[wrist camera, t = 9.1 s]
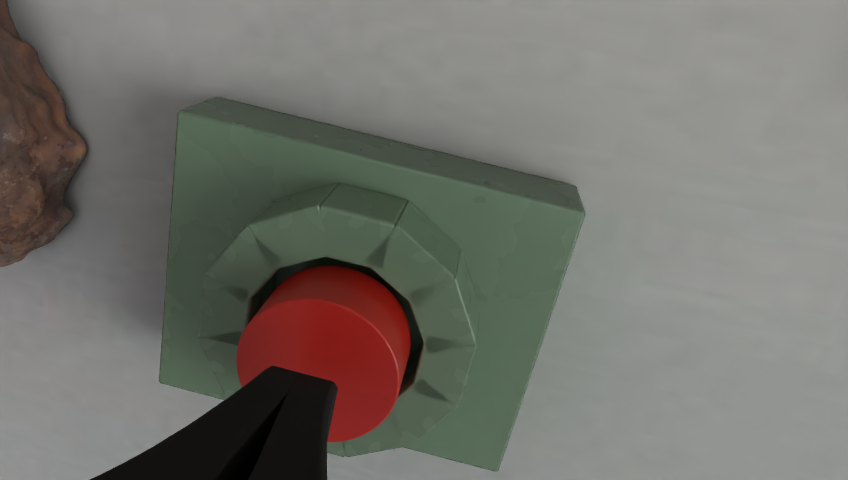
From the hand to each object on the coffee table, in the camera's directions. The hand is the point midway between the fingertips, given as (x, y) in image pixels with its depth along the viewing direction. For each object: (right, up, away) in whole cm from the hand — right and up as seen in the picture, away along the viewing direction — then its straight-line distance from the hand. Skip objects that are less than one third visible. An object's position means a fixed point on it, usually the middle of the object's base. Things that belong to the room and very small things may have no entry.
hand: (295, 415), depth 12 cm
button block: (+1, +2, +6) cm, 7 cm away
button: (0, +1, +3) cm, 3 cm away
